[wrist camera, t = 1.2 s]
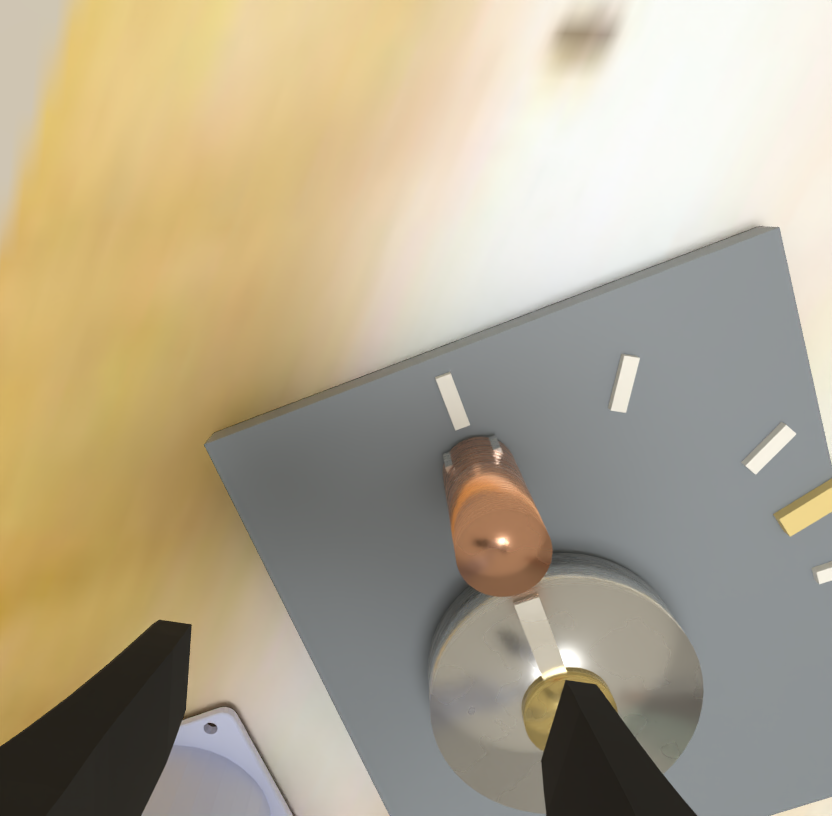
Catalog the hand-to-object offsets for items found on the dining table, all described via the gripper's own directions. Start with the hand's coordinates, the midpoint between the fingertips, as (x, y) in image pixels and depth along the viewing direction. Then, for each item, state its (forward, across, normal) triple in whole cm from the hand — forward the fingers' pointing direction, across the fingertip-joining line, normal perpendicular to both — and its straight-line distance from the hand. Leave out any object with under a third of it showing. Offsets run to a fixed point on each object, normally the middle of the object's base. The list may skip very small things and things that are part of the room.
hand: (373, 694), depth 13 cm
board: (+11, -8, +5) cm, 14 cm away
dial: (+10, -6, +4) cm, 12 cm away
